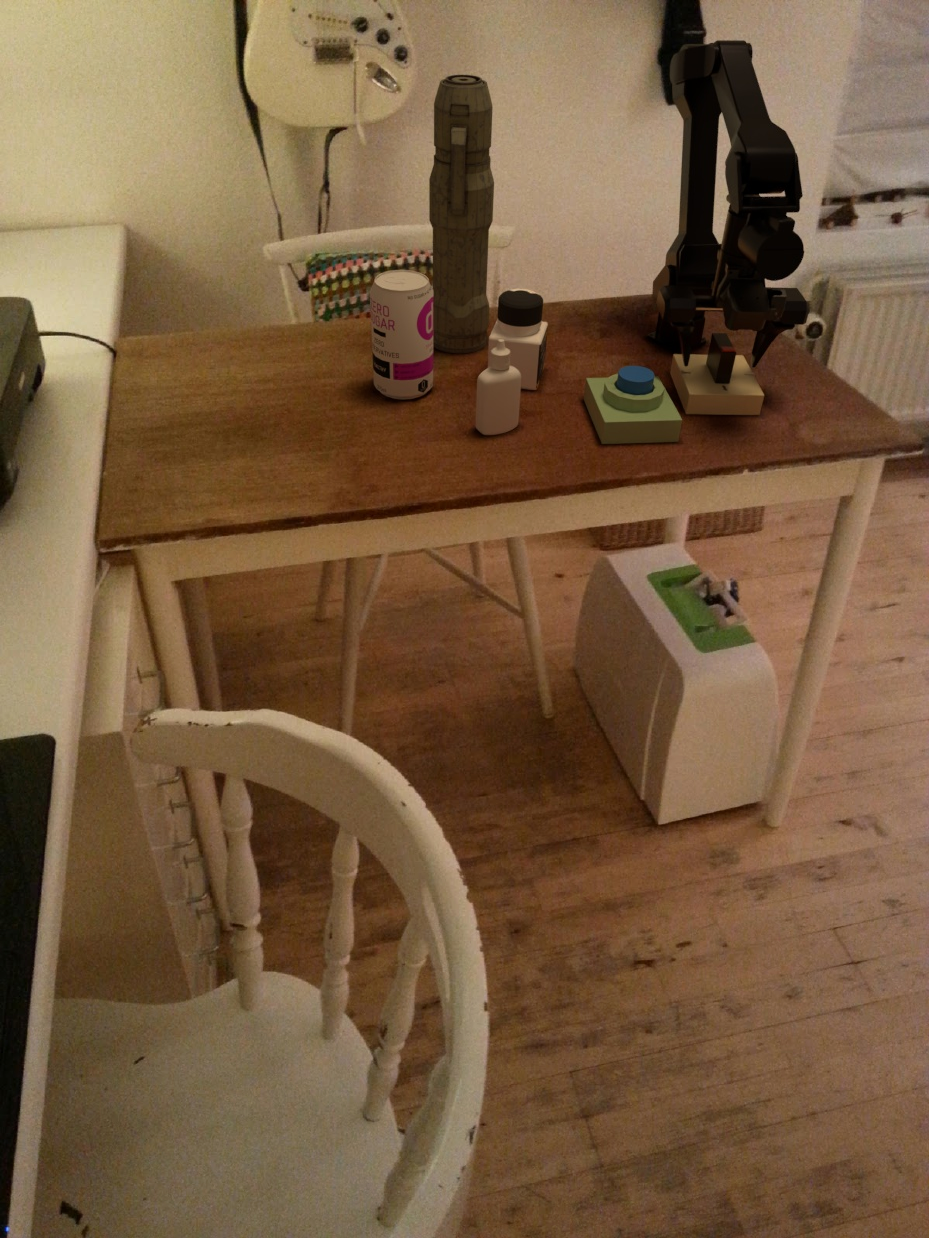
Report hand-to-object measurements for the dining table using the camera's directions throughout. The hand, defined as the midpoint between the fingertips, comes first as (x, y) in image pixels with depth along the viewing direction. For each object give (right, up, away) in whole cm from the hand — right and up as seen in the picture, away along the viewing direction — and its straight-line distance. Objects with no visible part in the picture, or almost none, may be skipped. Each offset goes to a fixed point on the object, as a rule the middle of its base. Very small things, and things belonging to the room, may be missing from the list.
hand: (719, 365), depth 130 cm
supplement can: (-43, -3, +2) cm, 43 cm away
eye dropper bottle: (-31, -10, -6) cm, 33 cm away
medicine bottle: (-27, 0, +5) cm, 28 cm away
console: (0, -3, +3) cm, 4 cm away
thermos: (-36, +7, +14) cm, 39 cm away
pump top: (-13, -5, -7) cm, 15 cm away
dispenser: (-13, -8, -4) cm, 16 cm away
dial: (0, -1, +1) cm, 1 cm away
